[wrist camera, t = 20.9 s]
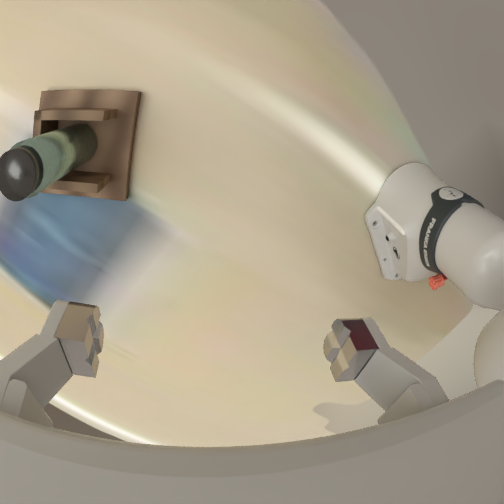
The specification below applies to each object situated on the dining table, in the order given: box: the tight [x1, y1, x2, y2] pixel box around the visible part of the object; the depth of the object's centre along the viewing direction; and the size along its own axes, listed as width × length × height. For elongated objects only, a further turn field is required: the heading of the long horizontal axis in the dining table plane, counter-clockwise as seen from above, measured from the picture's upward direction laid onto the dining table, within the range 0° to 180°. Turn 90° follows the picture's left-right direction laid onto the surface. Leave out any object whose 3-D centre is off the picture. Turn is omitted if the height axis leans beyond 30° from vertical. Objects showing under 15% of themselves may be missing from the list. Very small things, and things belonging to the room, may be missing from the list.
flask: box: [0, 124, 97, 201], centre depth 26 cm, size 6×6×16 cm
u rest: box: [33, 90, 141, 201], centre depth 31 cm, size 15×15×6 cm
